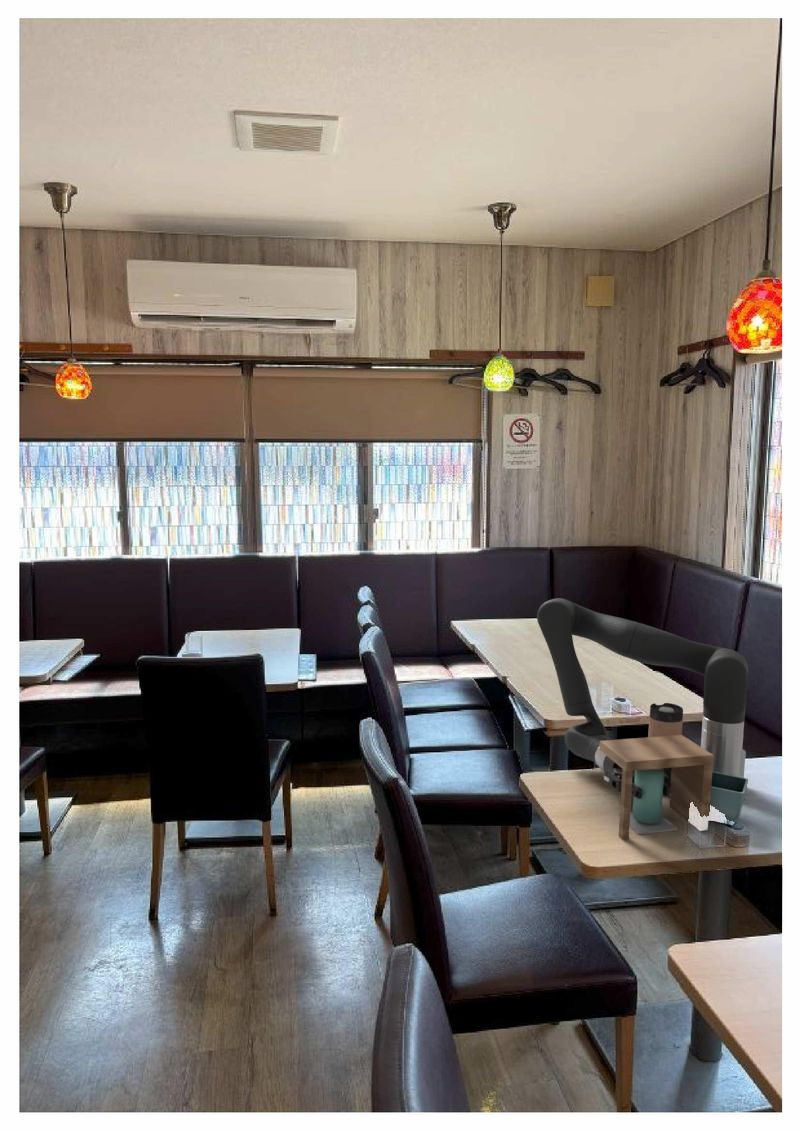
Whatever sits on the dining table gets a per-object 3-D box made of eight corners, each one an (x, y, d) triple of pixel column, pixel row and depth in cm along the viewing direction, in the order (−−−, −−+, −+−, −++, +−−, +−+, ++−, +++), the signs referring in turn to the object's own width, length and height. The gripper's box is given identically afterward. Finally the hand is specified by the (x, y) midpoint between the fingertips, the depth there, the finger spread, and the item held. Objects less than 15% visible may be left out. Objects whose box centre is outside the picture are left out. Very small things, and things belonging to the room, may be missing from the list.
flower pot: (741, 833, 167) (744, 793, 166) (697, 823, 172) (700, 784, 170) (745, 816, 175) (748, 778, 174) (703, 807, 179) (706, 770, 178)
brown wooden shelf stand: (677, 806, 180) (681, 734, 177) (708, 830, 168) (713, 754, 166) (596, 813, 175) (599, 740, 173) (622, 839, 164) (626, 762, 161)
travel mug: (672, 796, 184) (677, 714, 182) (640, 788, 189) (645, 708, 186) (682, 786, 190) (688, 706, 188) (651, 777, 195) (656, 700, 192)
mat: (654, 811, 177) (654, 809, 177) (676, 830, 168) (676, 828, 168) (617, 815, 175) (618, 813, 175) (638, 834, 166) (638, 832, 166)
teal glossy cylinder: (652, 809, 175) (655, 762, 173) (666, 822, 169) (669, 773, 167) (627, 811, 174) (630, 764, 172) (641, 824, 168) (644, 775, 166)
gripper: (589, 749, 182) (624, 779, 166) (646, 745, 185) (686, 774, 169) (587, 780, 183) (622, 813, 167) (644, 775, 186) (683, 807, 170)
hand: (654, 793), depth 168 cm, fingers closed on teal glossy cylinder, 6 cm apart
